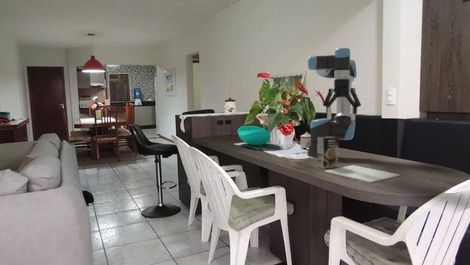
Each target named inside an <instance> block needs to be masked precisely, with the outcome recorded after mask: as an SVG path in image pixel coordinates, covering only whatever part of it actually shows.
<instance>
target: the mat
mask: <svg viewBox="0 0 470 265" xmlns="http://www.w3.org/2000/svg"><path fill="white" fill-rule="evenodd" d="M323 172H324V173H327V174H332V175H337V176H340V177H343V178H347V179H348V178H349V179H353V180H357V181H361V182H366V183H368V184H372V183H376V182H380V181H383V180H388V179H393V178H396V177H400V174H399V173H393V172H388V171H383V170H379V169H374V168H370V167H369V168H368V167H362V166H359V165H353V164H352V165H346V166H342V167H335V168H330V169H326V170H325V169H324V171H323Z"/></svg>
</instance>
